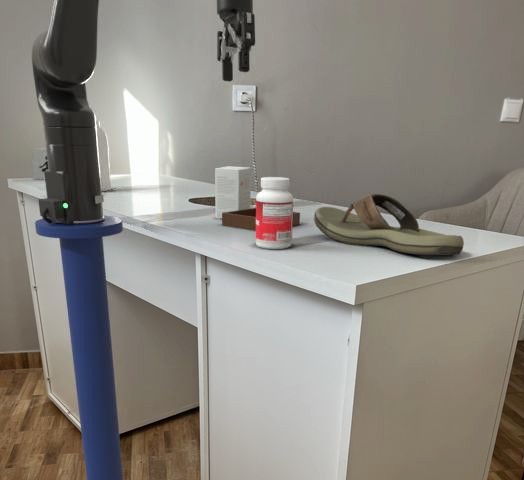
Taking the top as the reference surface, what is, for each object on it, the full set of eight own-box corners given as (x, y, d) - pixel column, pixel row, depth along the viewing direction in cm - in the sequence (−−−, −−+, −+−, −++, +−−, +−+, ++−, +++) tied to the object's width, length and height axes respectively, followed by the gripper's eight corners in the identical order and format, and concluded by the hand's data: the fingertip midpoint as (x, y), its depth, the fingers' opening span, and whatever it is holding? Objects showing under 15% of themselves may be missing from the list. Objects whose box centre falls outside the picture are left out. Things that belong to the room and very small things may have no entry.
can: (97, 193, 160) (90, 118, 153) (59, 191, 163) (51, 117, 156) (119, 189, 171) (114, 119, 164) (83, 187, 174) (77, 118, 167)
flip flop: (303, 235, 105) (305, 188, 101) (348, 229, 111) (351, 186, 108) (430, 265, 83) (438, 208, 80) (476, 257, 90) (485, 203, 86)
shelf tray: (264, 231, 107) (265, 218, 106) (221, 225, 113) (221, 212, 112) (299, 224, 116) (300, 212, 115) (258, 218, 122) (258, 207, 121)
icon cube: (42, 176, 205) (38, 148, 201) (70, 177, 206) (67, 148, 202) (34, 179, 195) (30, 149, 192) (63, 179, 196) (60, 149, 193)
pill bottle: (261, 241, 98) (262, 175, 94) (295, 244, 96) (298, 177, 92) (250, 248, 92) (251, 178, 88) (286, 251, 91) (288, 180, 86)
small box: (227, 213, 128) (227, 165, 124) (250, 215, 126) (251, 166, 122) (214, 218, 121) (214, 167, 117) (238, 220, 119) (239, 169, 115)
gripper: (205, 0, 120) (207, 82, 123) (232, -26, 107) (233, 65, 111) (236, 6, 123) (237, 85, 127) (266, -18, 111) (266, 70, 114)
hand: (235, 76), depth 119 cm, fingers open, 8 cm apart
